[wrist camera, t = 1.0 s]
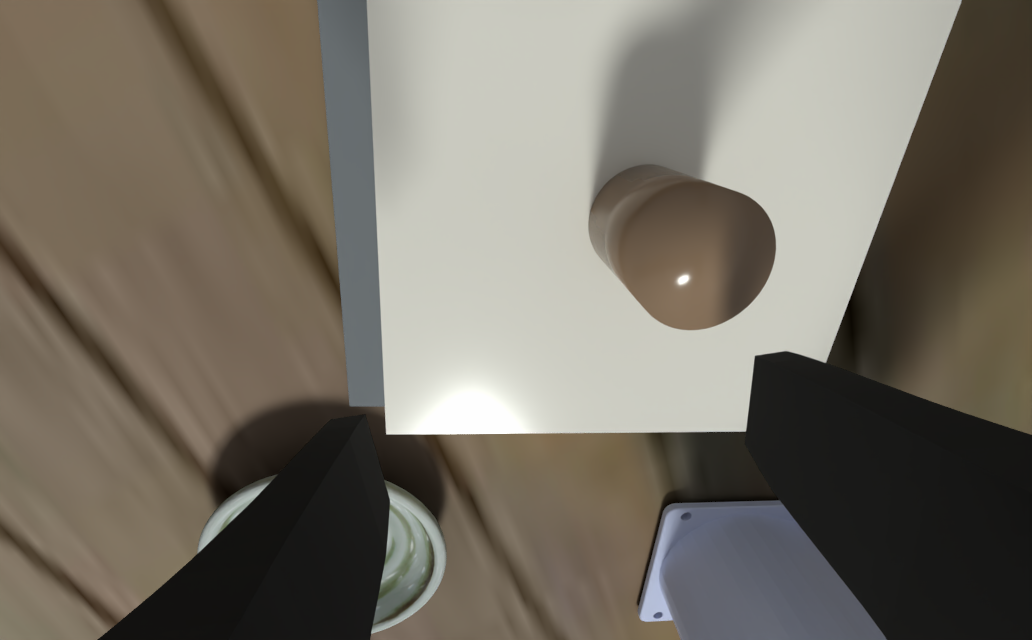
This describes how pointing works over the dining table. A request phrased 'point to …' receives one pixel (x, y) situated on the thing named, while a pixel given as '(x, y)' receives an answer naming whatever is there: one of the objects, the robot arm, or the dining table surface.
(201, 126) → the dining table surface
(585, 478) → the dining table surface
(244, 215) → the dining table surface
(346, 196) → the mat
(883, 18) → the cover
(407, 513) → the saucer
